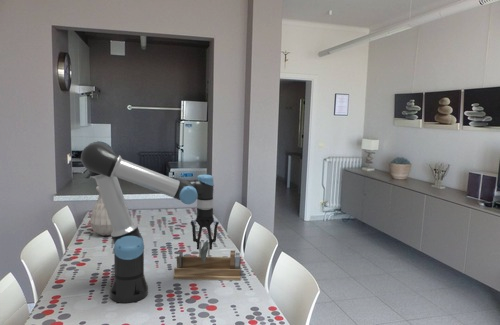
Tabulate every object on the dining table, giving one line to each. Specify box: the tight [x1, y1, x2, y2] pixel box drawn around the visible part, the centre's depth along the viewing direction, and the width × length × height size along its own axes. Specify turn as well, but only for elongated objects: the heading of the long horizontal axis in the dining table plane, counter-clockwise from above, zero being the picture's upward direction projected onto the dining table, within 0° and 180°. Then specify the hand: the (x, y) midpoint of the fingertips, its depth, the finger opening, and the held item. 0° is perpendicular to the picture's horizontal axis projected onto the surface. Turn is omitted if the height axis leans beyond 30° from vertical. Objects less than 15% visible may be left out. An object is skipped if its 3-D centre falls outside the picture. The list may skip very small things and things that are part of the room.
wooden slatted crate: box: [173, 250, 242, 281], centre depth 180 cm, size 12×31×11 cm, turn 91°
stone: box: [198, 239, 209, 263], centre depth 177 cm, size 11×4×10 cm, turn 175°
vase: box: [89, 185, 113, 236], centre depth 236 cm, size 20×20×30 cm
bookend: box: [178, 250, 184, 268], centre depth 179 cm, size 5×3×9 cm, turn 1°
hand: (204, 255), depth 179 cm, fingers closed on stone, 3 cm apart
